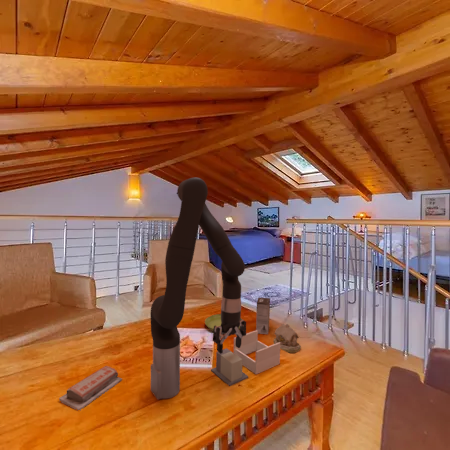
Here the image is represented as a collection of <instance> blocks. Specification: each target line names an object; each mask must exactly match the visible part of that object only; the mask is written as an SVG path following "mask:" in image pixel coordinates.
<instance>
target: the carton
mask: <svg viewBox="0 0 450 450" xmlns="http://www.w3.org/2000/svg"><path fill="white" fill-rule="evenodd" d="M258 336H259V333H258V331H257V330H256V329H255V330H253V331H250V332H246V335H245V336H243V337H242V339H241V346H240V348H238V347H236V337H237V336H235V337H233V353H234V354H236V355H237V356H238V357H240V358H241V359H243V360H242V366H244V367H245V368H246V369H248V370H249V371H250V372H252V373H253V374H255V375H258V374H260V373H263V372H265V371H267V370H269V369H271V368H273V367H276V366H277V365H280V363H281V349H280V342H279V343H276V344H274V343H273V344H271V345H269V346H268V345H266V344H265V343H264V342H261V341H259V340H258V339H259V337H258ZM251 353H255V360H254V359H253V358H251V357H249V356H248V355H249V354H251Z"/></svg>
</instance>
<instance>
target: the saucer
mask: <svg viewBox="0 0 450 450" xmlns="http://www.w3.org/2000/svg"><path fill="white" fill-rule="evenodd" d="M241 319H242V318H241ZM241 319H240V320H241ZM204 324H205V326H206V327H207V328H208V329H209V330H210V331H212V332H213V329H214V326H215V325H216V326H221V313H218V314H212V315H210V316H208V317H206V318H205V320H204ZM238 329H239V330H240V326H239V328H238ZM220 331H221V330H220Z"/></svg>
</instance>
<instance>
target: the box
mask: <svg viewBox="0 0 450 450" xmlns="http://www.w3.org/2000/svg"><path fill="white" fill-rule="evenodd" d="M215 354H216V355H215V356H216V357H215V361H216V363H215V364H216V366H215V367H216V369H217V370H218V371H219V372H220V373H222V374H223V375H224V376H225V377H226V378H228V379H229V380H230V381H231V382H232V381H235V380H237V379H239V378H241V377H242V372H243V365H242V360H243V359H241V358H240V357H238V356H237V355H236V354H234V351H233V352H232V351H231V350H230V349H228V347H226V348H223V353H221V354H220V353H219V352H218V351H216V353H215Z"/></svg>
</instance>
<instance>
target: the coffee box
mask: <svg viewBox="0 0 450 450" xmlns="http://www.w3.org/2000/svg"><path fill="white" fill-rule="evenodd" d="M270 305H271V298H270V297H258V298H257V301H256V316H255V317H256V321H255V323H256V324H255V325H256V328H255V331H256V330H257V331H258V335H259V334H261V335H269V332H270V331H269V329H270V310H271V309H270V307H271V306H270Z"/></svg>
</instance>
